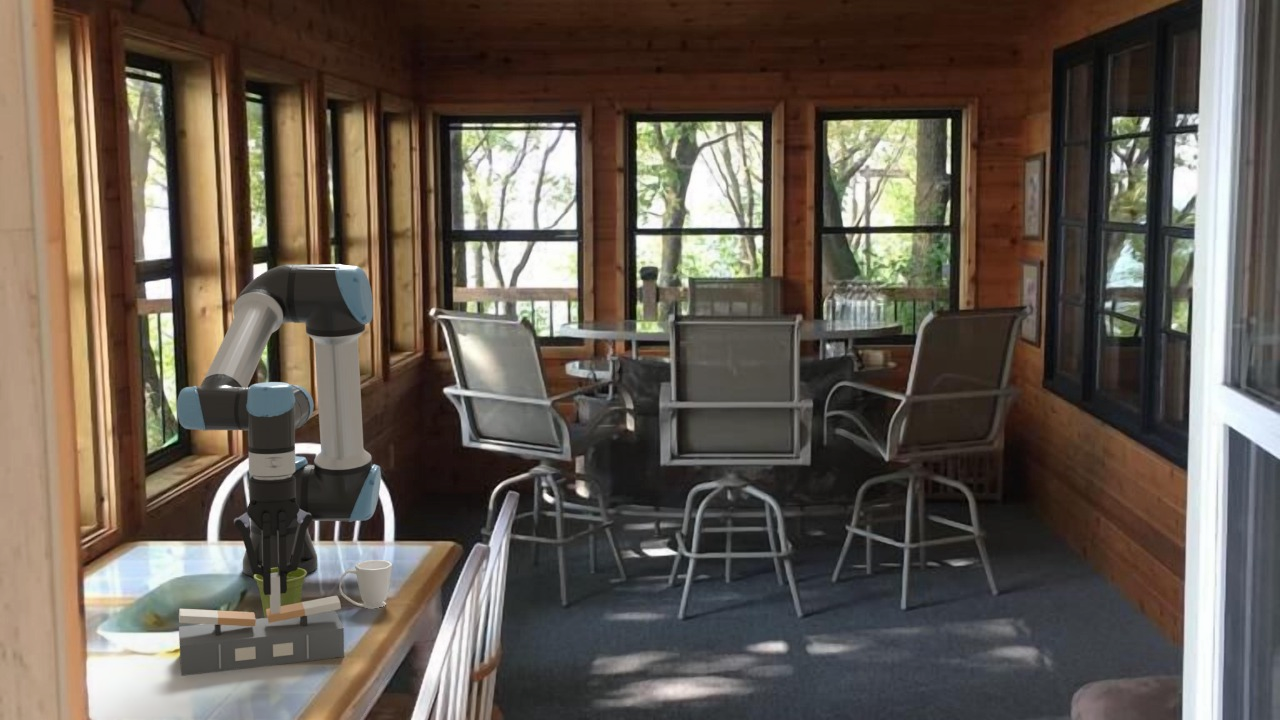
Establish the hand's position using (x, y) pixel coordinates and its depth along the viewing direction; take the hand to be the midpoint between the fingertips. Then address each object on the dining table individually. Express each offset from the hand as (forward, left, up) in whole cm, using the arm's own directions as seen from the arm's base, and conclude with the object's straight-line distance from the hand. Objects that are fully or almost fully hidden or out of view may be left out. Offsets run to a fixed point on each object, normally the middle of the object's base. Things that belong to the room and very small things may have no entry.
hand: (275, 612), depth 217 cm
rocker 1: (0, -9, 0) cm, 9 cm away
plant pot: (-19, +3, -8) cm, 21 cm away
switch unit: (0, -2, -7) cm, 8 cm away
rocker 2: (0, +5, 0) cm, 5 cm away
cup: (-22, +19, -8) cm, 30 cm away
